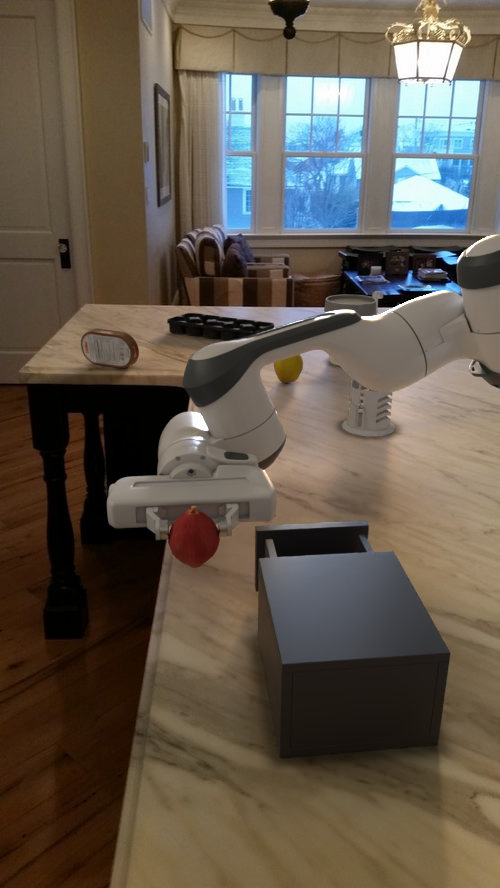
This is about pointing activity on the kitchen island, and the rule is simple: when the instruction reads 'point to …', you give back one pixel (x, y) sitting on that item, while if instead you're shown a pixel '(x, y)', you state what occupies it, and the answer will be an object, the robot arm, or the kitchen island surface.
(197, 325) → the egg carton
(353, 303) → the reusable coffee cup
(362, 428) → the french press
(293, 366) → the apple
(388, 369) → the robot arm
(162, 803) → the kitchen island surface
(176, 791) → the kitchen island surface
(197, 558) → the onion
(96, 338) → the tin
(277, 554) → the dark grey open drawer
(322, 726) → the dark drawer box
